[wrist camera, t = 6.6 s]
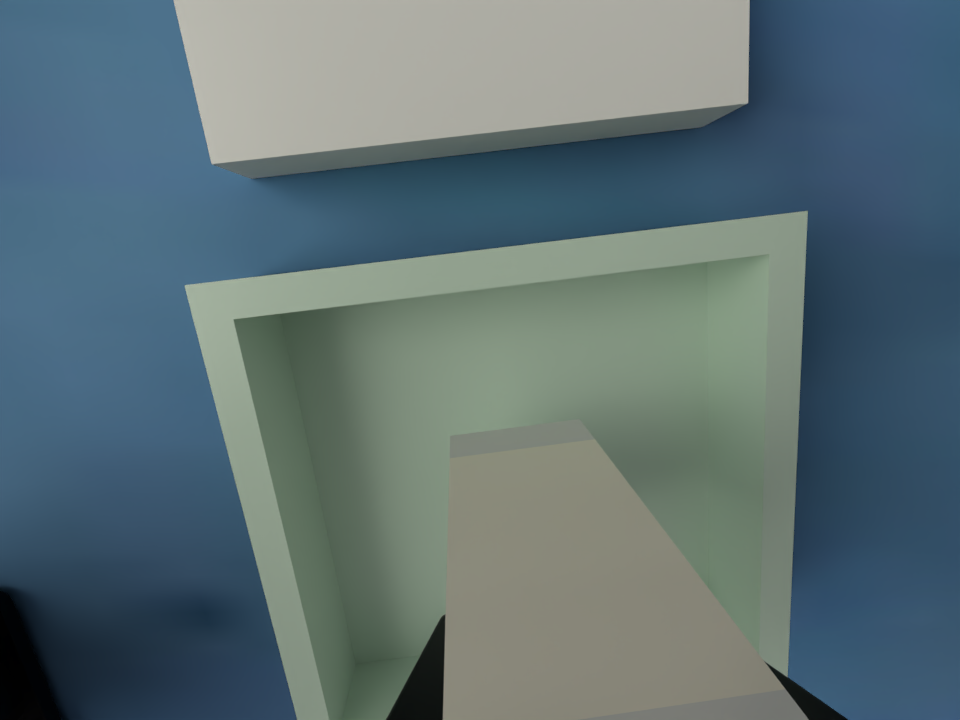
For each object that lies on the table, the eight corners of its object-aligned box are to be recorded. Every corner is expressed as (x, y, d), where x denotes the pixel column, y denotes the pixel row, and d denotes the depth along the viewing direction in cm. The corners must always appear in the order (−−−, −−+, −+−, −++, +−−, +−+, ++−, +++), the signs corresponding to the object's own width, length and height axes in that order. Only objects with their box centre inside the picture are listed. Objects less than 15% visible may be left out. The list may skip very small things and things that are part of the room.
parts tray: (719, 613, 16) (786, 704, 13) (341, 666, 16) (311, 773, 12) (720, 222, 13) (807, 211, 10) (253, 277, 13) (184, 285, 9)
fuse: (593, 603, 12) (864, 1286, 4) (476, 619, 12) (519, 1348, 4) (579, 419, 11) (921, 868, 3) (450, 436, 11) (436, 944, 3)
